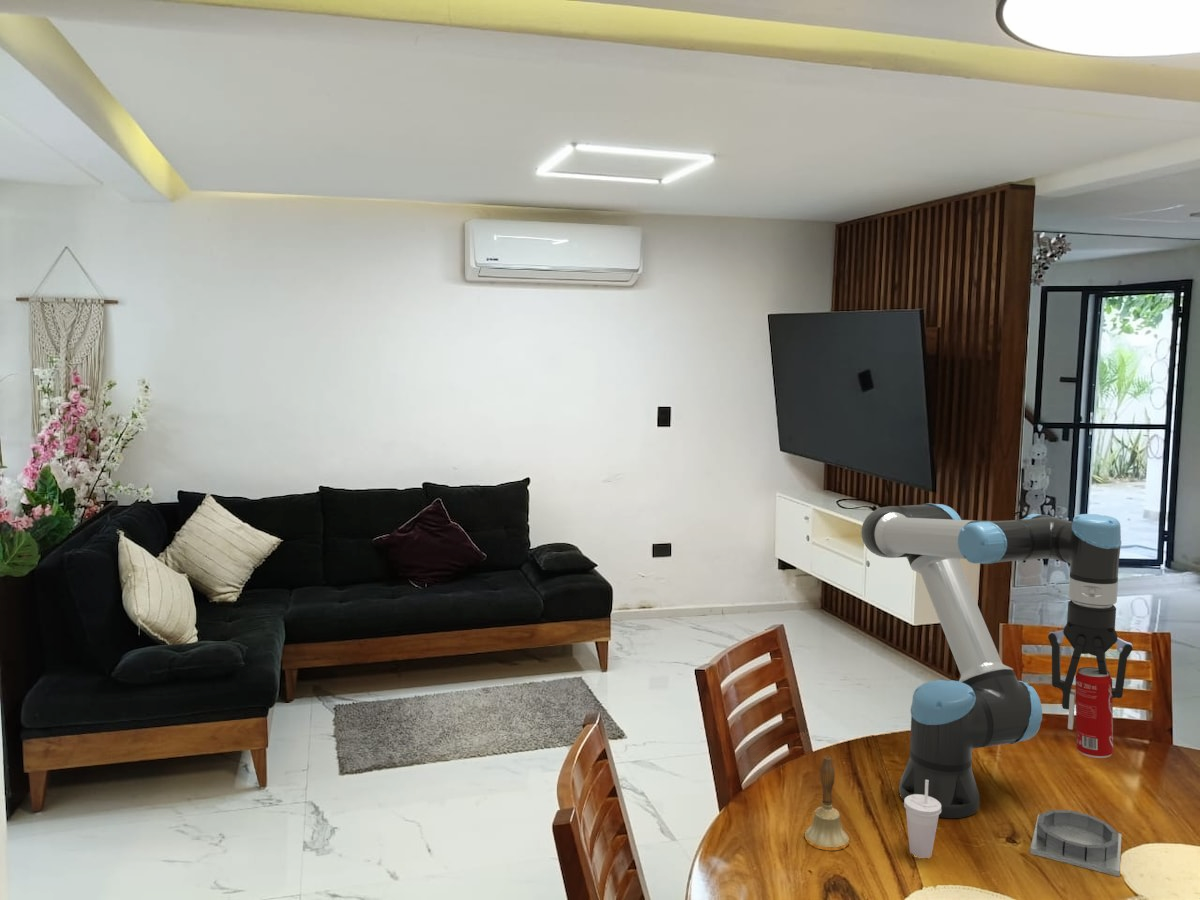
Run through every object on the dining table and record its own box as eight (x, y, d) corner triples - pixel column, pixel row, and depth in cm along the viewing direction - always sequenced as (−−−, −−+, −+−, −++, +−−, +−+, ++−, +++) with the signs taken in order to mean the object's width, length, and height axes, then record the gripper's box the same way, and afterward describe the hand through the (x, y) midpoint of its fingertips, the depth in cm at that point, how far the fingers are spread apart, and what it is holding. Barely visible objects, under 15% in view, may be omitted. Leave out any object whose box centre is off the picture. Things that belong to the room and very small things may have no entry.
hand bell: (824, 856, 163) (827, 771, 161) (794, 834, 170) (796, 753, 168) (859, 844, 166) (862, 761, 165) (828, 823, 174) (830, 744, 172)
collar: (1030, 853, 163) (1031, 835, 163) (1037, 819, 175) (1038, 801, 175) (1119, 876, 156) (1120, 857, 156) (1121, 839, 168) (1122, 821, 168)
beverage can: (1115, 762, 158) (1120, 679, 157) (1073, 756, 161) (1078, 674, 159) (1109, 748, 164) (1114, 668, 162) (1069, 742, 166) (1074, 663, 164)
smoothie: (935, 867, 159) (938, 791, 157) (897, 856, 162) (900, 782, 161) (942, 850, 164) (946, 776, 163) (906, 840, 168) (909, 768, 166)
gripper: (1037, 600, 161) (1030, 726, 164) (1147, 614, 153) (1138, 747, 155) (1041, 591, 168) (1035, 712, 170) (1147, 604, 159) (1138, 731, 162)
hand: (1084, 728), depth 163 cm, fingers closed on beverage can, 4 cm apart
